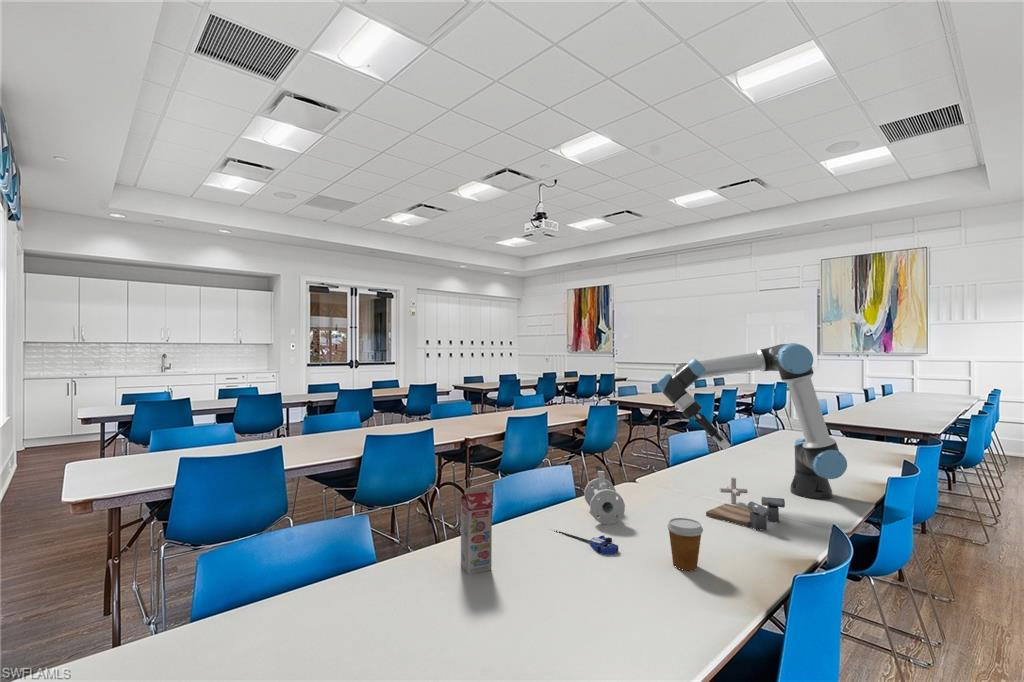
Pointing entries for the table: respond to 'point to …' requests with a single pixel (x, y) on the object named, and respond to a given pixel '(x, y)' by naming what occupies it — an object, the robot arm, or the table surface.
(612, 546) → the bar clamp
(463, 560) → the juice carton
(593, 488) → the valve
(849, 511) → the table surface
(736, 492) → the pipe connector
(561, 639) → the table surface
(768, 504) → the grey capsule on block
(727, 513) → the mounting pad
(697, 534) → the disposable coffee cup
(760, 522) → the dark grey piece
